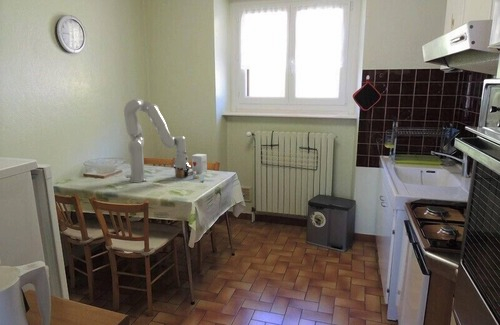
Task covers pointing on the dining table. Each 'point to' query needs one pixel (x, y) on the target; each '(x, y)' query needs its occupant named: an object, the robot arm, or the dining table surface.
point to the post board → (191, 178)
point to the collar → (180, 173)
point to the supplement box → (199, 163)
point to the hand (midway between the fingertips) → (182, 175)
